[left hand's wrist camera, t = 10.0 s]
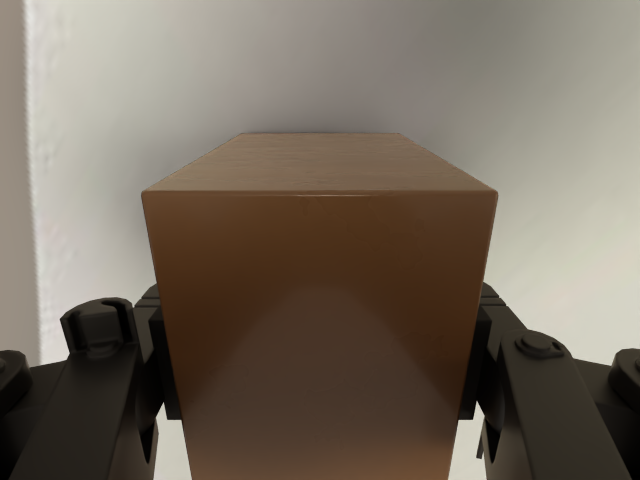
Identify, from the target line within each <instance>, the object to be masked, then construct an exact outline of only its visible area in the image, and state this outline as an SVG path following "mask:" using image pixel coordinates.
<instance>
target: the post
mask: <svg viewBox="0 0 640 480" xmlns="http://www.w3.org/2000/svg"><path fill="white" fill-rule="evenodd" d="M141 198H142V203H143V209H144V214H145V220H146V226H147V231H148V237H149V242H150V248H151V253H152V259H153V265H154V270H155V276H156V281H157V287H158V292H159V298H160V303H161V309H162V315H163V320H164V326H165V331H166V337H167V342H168V348H169V354H170V359H171V365H172V370H173V376H174V381H175V387H176V393H177V398H178V404H179V409H180V415H181V420H182V426H183V432H184V437H185V443H186V448H187V454H188V459H189V465H190V471H191V476H192V480H448V476H449V471H450V465H451V459H452V454H453V448H454V443H455V437H456V431H457V426H458V420H459V414H460V409H461V403H462V398H463V392H464V386H465V381H466V375H467V369H468V364H469V358H470V352H471V347H472V341H473V336H474V330H475V324H476V319H477V313H478V307H479V302H480V296H481V291H482V285H483V279H484V274H485V268H486V262H487V257H488V251H489V245H490V240H491V234H492V229H493V223H494V217H495V212H496V206H497V200H498V192H497V191H496V190H494V189H492V188H491V187H489V186H487V185H486V184H484V183H482V182H481V181H479V180H477V179H475V178H474V177H472V176H470V175H469V174H467V173H465V172H464V171H462V170H460V169H458V168H457V167H455V166H453V165H452V164H450V163H448V162H447V161H445V160H443V159H441V158H440V157H438V156H436V155H435V154H433V153H431V152H430V151H428V150H426V149H424V148H423V147H421V146H419V145H418V144H416V143H414V142H413V141H411V140H409V139H407V138H406V137H404V136H402V135H401V134H399V133H242V134H240V135H238V136H236V137H235V138H233V139H231V140H230V141H228V142H226V143H224V144H223V145H221V146H219V147H218V148H216V149H214V150H212V151H211V152H209V153H207V154H206V155H204V156H202V157H200V158H199V159H197V160H195V161H194V162H192V163H190V164H188V165H187V166H185V167H183V168H182V169H180V170H178V171H176V172H175V173H173V174H171V175H170V176H168V177H166V178H164V179H163V180H161V181H159V182H158V183H156V184H154V185H153V186H151V187H149V188H147V189H146V190H144V191H142V194H141Z"/></svg>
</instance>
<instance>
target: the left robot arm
mask: <svg viewBox="0 0 640 480" xmlns="http://www.w3.org/2000/svg"><path fill="white" fill-rule="evenodd" d="M60 322H61V325H62V329H63V332H64V335H65V339H66V342H67V346H68V349H69V352H70V354H69V356H68V358H67V360H65V361H61V362H56V363H51V364H46V365H41V366H36V367H30V368H29V365H28V362H27V359H26V356H25V355H24V354H22V353H21V352H19V351H13V350H5V351H0V480H153V478H154V469H155V461H156V452H157V443H158V435H159V432H158V426H157V421H156V416H157V414H158V412H159V410H160V408H161V406H162V404H163V402H164V405H165V410H166V415H167V420H181V415H180V409H179V404H178V398H177V393H176V387H175V381H174V376H173V370H172V365H171V359H170V354H169V348H168V342H167V337H166V331H165V326H164V320H163V315H162V309H161V303H160V298H159V292H158V287H157V284H155V285H153V286H152V287H150V288H149V289H148V290H147V291H146V293H145V294H144V295H143V296H142V299H140V300H139V301H138V302H137V303H136V304H135V307H134V308H133V307H132V303H131V302H129V301H128V300H126V299H122V298H117V297H114V298H101V299H97V300H92V301H89V302H86V303H83V304H80V305H78V306H76V307H74V308H73V309H71V310H69V311H67V312H66V313H65V314H64V315H63V316H62V317H61V318H60ZM477 401H478V403H479V405H480V407H481V409H482V411H483V413H484V415H485V416H484V421H483V426H482V431H481V436H480V440H479V445H478V450H477V456H476V458H479V459H482V454H483V451H484V460H485V468H486V477H487V480H640V349H634V348H631V349H622V350H620V351H619V352H618V353H616V355H615V358H614V360H613V363H612V366H608V365H603V364H598V363H593V362H588V361H583V360H578V359H574V358H573V357H572V355H571V353H570V352H569V351H568V349H567V348H566V347H565V346H564V345H563V344H562V343H560V342H559V341H557V340H556V339H554V338H553V337H550V336H548V335H546V334H543V333H541V332H537V331H533V330H528V329H527V328H526V327H525V326H524V324H523V323H522V322H521V321H520V320H519V319H518V317H517V316H516V315H515V314H514V313H513V312H512V310H511V309H510V308H509V307H508V306H506V303H505V302H504V301H503V300H502V299H501V298H499V295H498V294H497V293H496V292H495V291H494V289H493V288H492V287H491V286H489V285H488V284H486V283H484V282H483V285H482V291H481V296H480V302H479V307H478V313H477V319H476V324H475V330H474V336H473V341H472V347H471V352H470V358H469V364H468V369H467V375H466V381H465V386H464V392H463V398H462V403H461V409H460V414H459V420H473V417H474V412H475V407H476V402H477Z"/></svg>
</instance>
